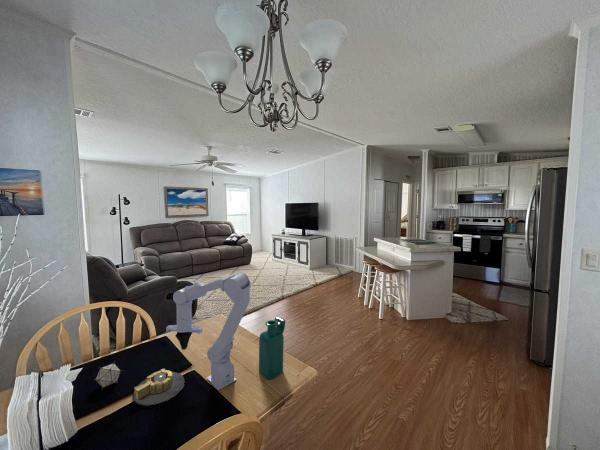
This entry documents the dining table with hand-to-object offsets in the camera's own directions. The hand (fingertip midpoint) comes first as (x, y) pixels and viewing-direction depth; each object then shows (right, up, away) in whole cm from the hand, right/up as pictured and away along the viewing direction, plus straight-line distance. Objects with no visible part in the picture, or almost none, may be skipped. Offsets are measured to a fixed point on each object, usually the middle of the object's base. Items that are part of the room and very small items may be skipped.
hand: (184, 348), depth 108 cm
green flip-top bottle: (+37, -11, +2) cm, 38 cm away
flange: (-5, -11, -10) cm, 15 cm away
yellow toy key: (-6, -9, -12) cm, 16 cm away
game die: (-25, -10, -9) cm, 29 cm away
